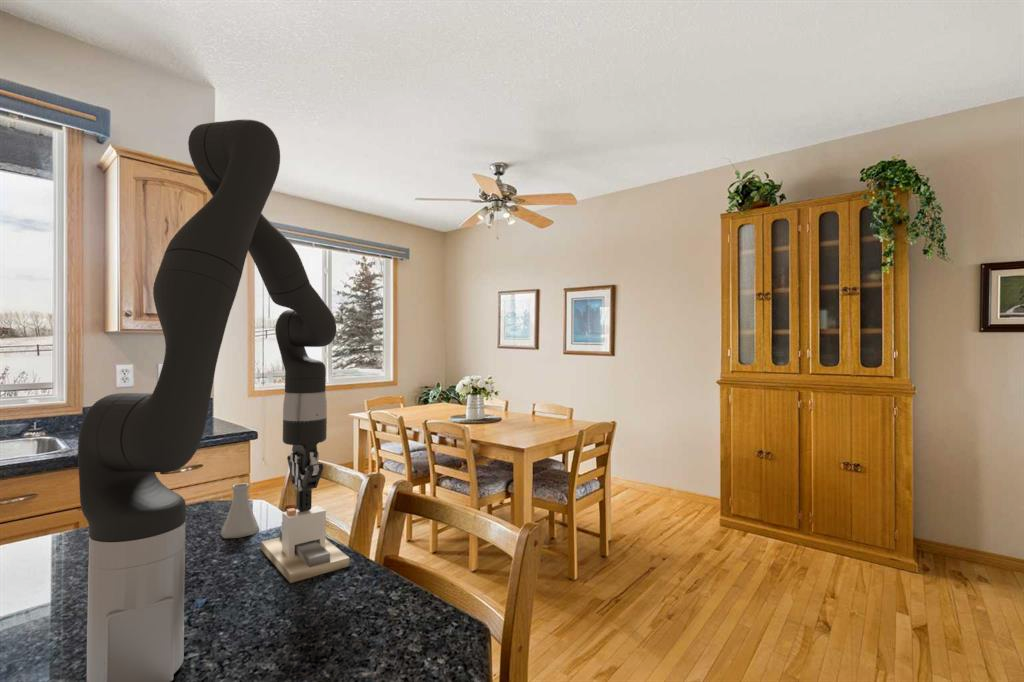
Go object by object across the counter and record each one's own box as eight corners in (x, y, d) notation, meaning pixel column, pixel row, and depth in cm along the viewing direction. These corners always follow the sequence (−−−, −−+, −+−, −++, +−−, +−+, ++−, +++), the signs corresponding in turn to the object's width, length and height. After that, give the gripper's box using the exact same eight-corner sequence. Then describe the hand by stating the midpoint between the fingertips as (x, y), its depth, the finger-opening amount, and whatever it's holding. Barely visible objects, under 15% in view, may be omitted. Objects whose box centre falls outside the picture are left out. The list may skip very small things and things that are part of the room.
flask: (221, 530, 106) (222, 482, 106) (259, 524, 109) (260, 479, 109) (218, 542, 99) (218, 491, 99) (259, 536, 102) (259, 487, 102)
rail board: (349, 566, 88) (349, 549, 88) (290, 583, 82) (290, 564, 82) (313, 536, 102) (313, 522, 102) (260, 549, 96) (261, 533, 96)
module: (325, 548, 92) (325, 506, 93) (288, 557, 88) (289, 513, 88) (317, 541, 96) (318, 501, 96) (281, 550, 91) (282, 508, 91)
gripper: (338, 418, 90) (337, 515, 90) (313, 411, 100) (312, 498, 100) (295, 422, 85) (294, 524, 85) (273, 414, 95) (272, 505, 95)
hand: (303, 509), depth 92 cm, fingers closed
